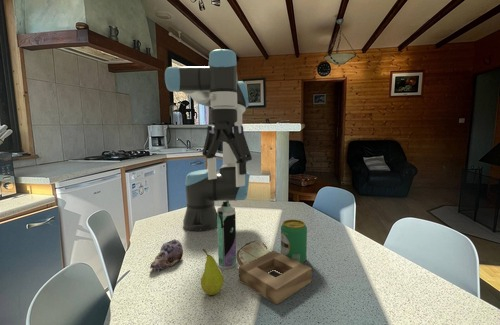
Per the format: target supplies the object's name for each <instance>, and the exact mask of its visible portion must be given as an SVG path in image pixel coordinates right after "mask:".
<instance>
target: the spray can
mask: <svg viewBox="0 0 500 325" xmlns="http://www.w3.org/2000/svg"><path fill="white" fill-rule="evenodd" d="M216 211H217V227H216V228H217V256H218V257H217V258H218V268H221V269H223V270H229V269H233V268H235V267H236V266H237V228H236V226H237V224H236V223H237V221H236V216H237V215H236V208H235V207H234V206H232V205H231V204H230V201H222V205H221V206H220V207H217V209H216Z"/></svg>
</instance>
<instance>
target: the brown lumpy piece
mask: <svg viewBox="0 0 500 325" xmlns="http://www.w3.org/2000/svg"><path fill="white" fill-rule="evenodd" d="M183 256H184V249H183V245H182V243H181V242H180V241H179V240H178V239H172V240H170V241H166V242H163V244H162V245H161V247H160V251H159V252H158V254H157V255H156V256H155V258H154V260H153V261H152V262H151V263H150V267H149V268H150V270H152V269H153V270H154V271H156V270H157V273H159V271H160V269H161V271H163V270H165V269H168V268H169V267H171V266H173V265H174V264H176V263H177V262H180V261H181V260H182V258H183ZM171 260H173V261H172V262H170V261H171Z"/></svg>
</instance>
